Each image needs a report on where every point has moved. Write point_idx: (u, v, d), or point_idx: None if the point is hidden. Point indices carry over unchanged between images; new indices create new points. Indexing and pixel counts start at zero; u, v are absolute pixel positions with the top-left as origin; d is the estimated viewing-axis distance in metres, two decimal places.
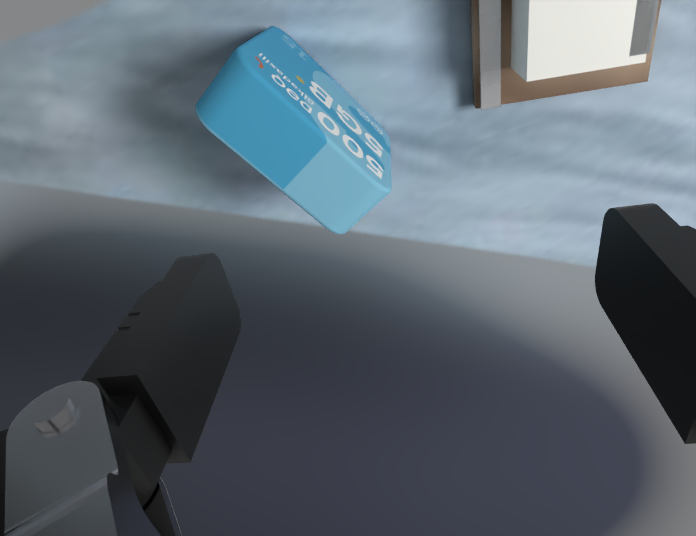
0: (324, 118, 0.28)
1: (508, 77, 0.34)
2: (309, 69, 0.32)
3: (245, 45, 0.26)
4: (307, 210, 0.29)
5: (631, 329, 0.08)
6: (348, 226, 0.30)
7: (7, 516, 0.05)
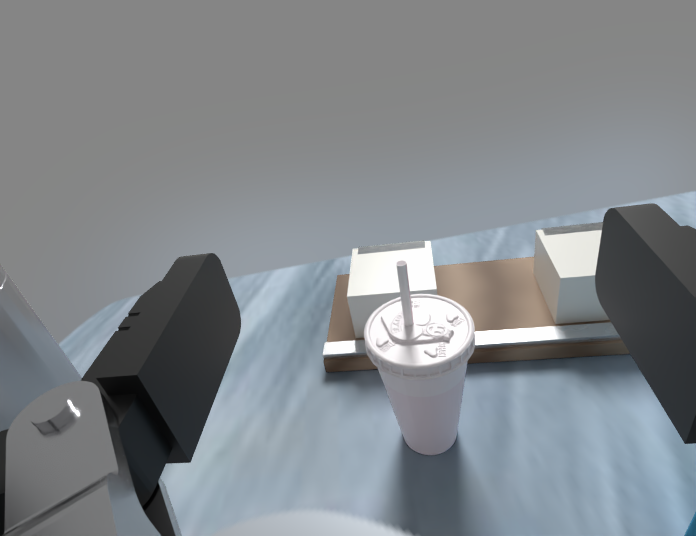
0: None
1: None
2: None
3: None
4: None
5: (631, 329, 0.08)
6: None
7: (7, 516, 0.05)
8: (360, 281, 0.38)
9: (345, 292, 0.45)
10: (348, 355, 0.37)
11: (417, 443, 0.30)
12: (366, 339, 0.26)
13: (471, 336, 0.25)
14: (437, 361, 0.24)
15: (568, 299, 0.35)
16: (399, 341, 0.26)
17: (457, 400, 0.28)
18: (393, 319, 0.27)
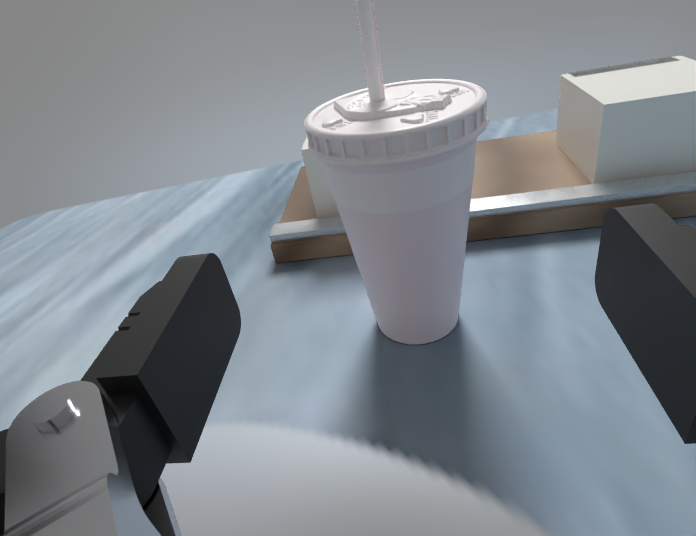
0: None
1: None
2: None
3: None
4: None
5: (631, 329, 0.08)
6: None
7: (9, 516, 0.05)
8: None
9: (309, 180, 0.34)
10: (305, 235, 0.27)
11: (397, 323, 0.19)
12: (306, 123, 0.16)
13: (482, 98, 0.15)
14: (423, 125, 0.14)
15: (614, 141, 0.25)
16: (360, 117, 0.15)
17: (459, 235, 0.17)
18: (353, 100, 0.17)
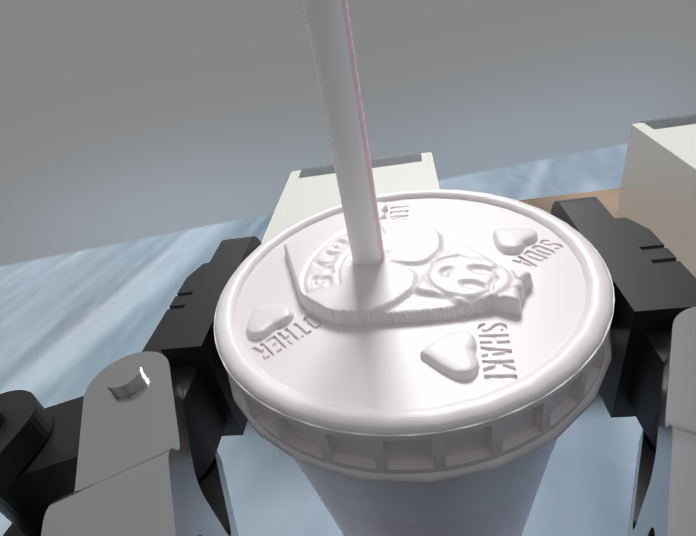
0: None
1: None
2: None
3: None
4: None
5: None
6: None
7: (80, 473, 0.05)
8: (294, 217, 0.19)
9: None
10: None
11: None
12: (218, 314, 0.07)
13: (608, 294, 0.06)
14: (481, 399, 0.05)
15: None
16: (328, 318, 0.07)
17: (528, 511, 0.09)
18: (320, 250, 0.08)
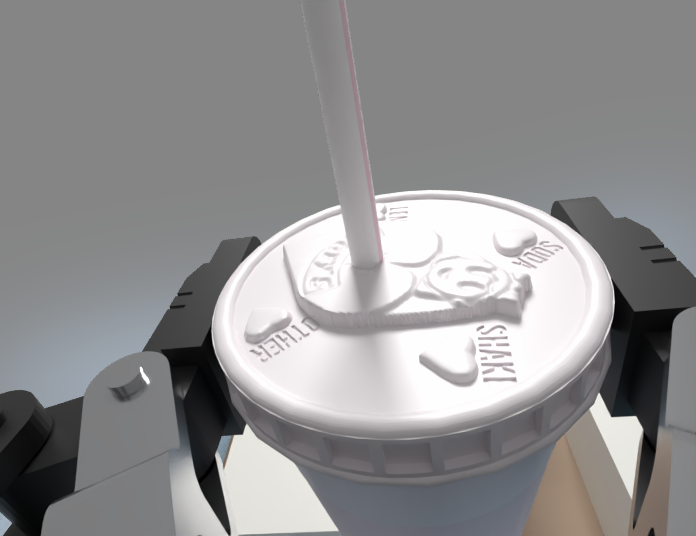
0: None
1: None
2: None
3: None
4: None
5: None
6: None
7: (80, 474, 0.05)
8: (240, 489, 0.20)
9: None
10: None
11: None
12: (216, 316, 0.07)
13: (608, 296, 0.06)
14: (481, 402, 0.05)
15: None
16: (327, 320, 0.07)
17: (527, 513, 0.09)
18: (318, 252, 0.08)
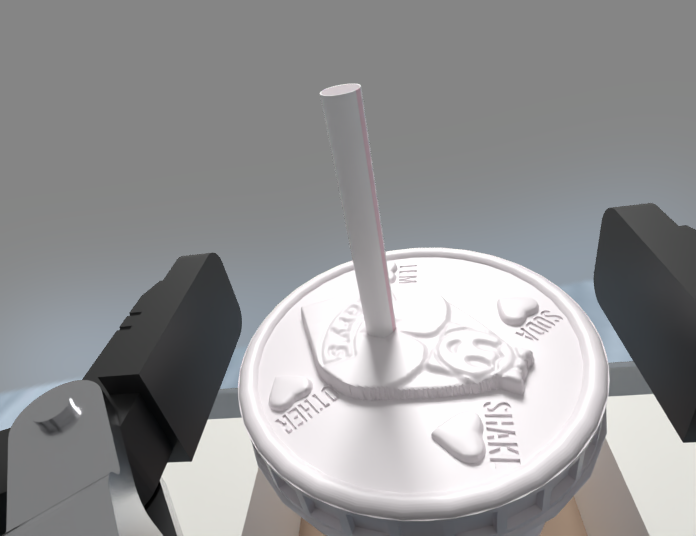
0: None
1: None
2: None
3: None
4: None
5: (629, 328, 0.08)
6: None
7: (11, 515, 0.05)
8: None
9: None
10: None
11: None
12: (242, 382, 0.08)
13: (603, 376, 0.07)
14: (488, 485, 0.06)
15: None
16: (345, 392, 0.07)
17: None
18: (335, 317, 0.09)
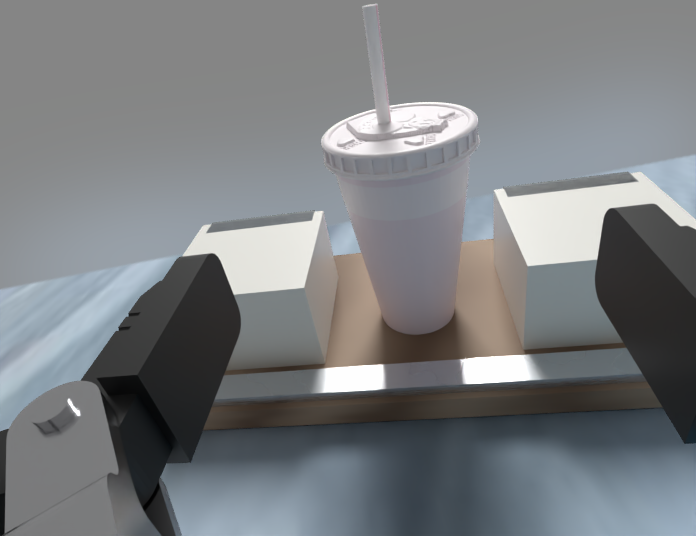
0: None
1: None
2: None
3: None
4: None
5: (631, 329, 0.08)
6: None
7: (9, 516, 0.05)
8: None
9: None
10: None
11: (400, 315, 0.22)
12: (323, 142, 0.18)
13: (473, 123, 0.17)
14: (423, 147, 0.16)
15: (544, 306, 0.19)
16: (369, 138, 0.18)
17: (454, 239, 0.20)
18: (363, 122, 0.19)
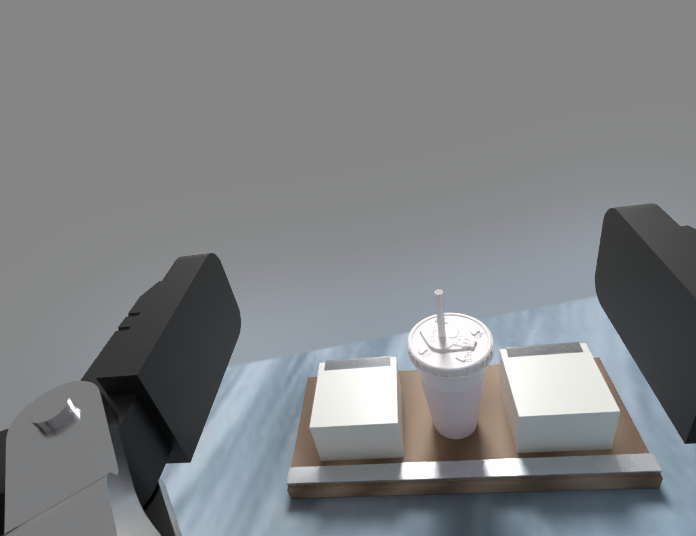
0: None
1: (621, 450, 0.35)
2: None
3: None
4: None
5: (631, 329, 0.08)
6: None
7: (9, 516, 0.05)
8: (324, 407, 0.38)
9: (314, 400, 0.45)
10: (312, 484, 0.37)
11: (446, 429, 0.38)
12: (410, 349, 0.35)
13: (490, 346, 0.33)
14: (466, 365, 0.32)
15: (528, 433, 0.35)
16: (436, 350, 0.34)
17: (479, 395, 0.36)
18: (429, 333, 0.35)
